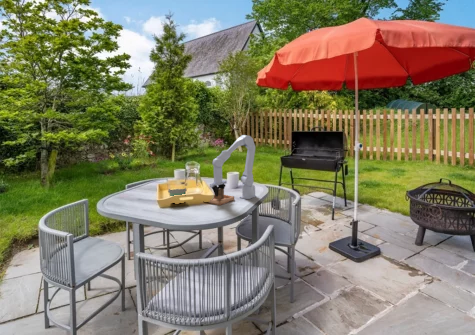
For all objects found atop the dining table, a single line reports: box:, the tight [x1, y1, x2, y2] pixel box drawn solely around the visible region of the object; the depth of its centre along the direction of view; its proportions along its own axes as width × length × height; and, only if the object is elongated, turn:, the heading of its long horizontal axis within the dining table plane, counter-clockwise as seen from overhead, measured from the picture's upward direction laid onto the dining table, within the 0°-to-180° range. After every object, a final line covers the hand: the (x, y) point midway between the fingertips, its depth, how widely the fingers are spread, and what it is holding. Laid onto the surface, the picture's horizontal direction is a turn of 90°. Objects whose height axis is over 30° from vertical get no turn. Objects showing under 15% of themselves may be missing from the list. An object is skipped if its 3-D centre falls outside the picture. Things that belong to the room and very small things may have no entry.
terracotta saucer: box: [208, 194, 235, 206], centre depth 206 cm, size 15×15×2 cm
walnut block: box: [215, 188, 225, 200], centre depth 205 cm, size 4×5×7 cm
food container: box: [167, 187, 187, 197], centre depth 202 cm, size 12×6×10 cm, turn 101°
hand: (218, 195), depth 205 cm, fingers closed on walnut block, 4 cm apart
